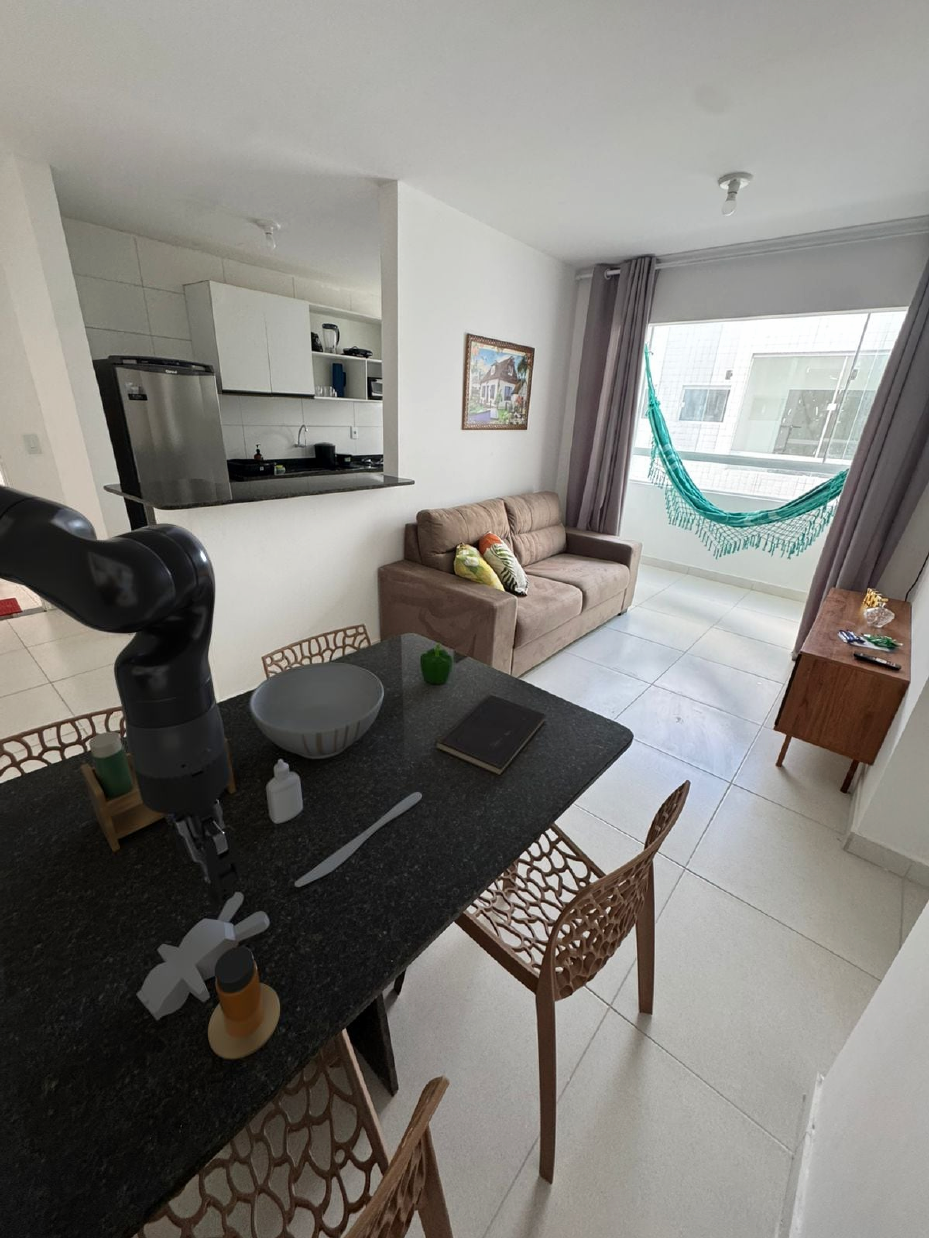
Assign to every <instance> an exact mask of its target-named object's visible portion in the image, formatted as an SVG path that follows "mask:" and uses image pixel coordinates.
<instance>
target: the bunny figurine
mask: <svg viewBox="0 0 929 1238" xmlns="http://www.w3.org/2000/svg"><path fill="white" fill-rule="evenodd" d="M243 901H244V895H243V893H242V892H240V891H235V894H234V896H233V897H232V898H230V899H229V900H227V901H226V902H225V903H224V906H223V908H222V910H221V911H220V914H219V916H218V918H217V919H213V918H212V919H211V918H203V919H201V920H200V921H199V922H198V923H196V924H195V925H194V926H193V927H192V928H191V929H190V930H189V931H188V933H187V934H186V935H185V936H184V937H183V939H182V941H181V942H180V944H179V945H178V947H177V946H174V945H169V944H167V943H166V944H165V943H161V945H160V946H159V947H158V948H157V953H158V954H159V957H161V959H162V960H163V962H162V963H159V964H157V965H156V966H155V967H154V968H152V969H151V970H150V971H149V973H148V975H147V976H146V978H145V979H144V982H143V983H142V985H141V986H142V987H141V989H140V990H139V991H137V992H136V996H137V998H138V999H139V1001H140V1002H141V1003H142V1004H143V1006H144V1007H145V1008H146V1009H147V1010H148V1011H149V1013H150V1014H151V1015H152V1016H153V1017H154V1019H155V1020H156V1021H157V1022H158V1021H159V1020H160V1019H161V1018H162V1017H165V1016H167V1015H171V1014H173V1013H175V1012H176V1011H177V1010H180V1009H181V1008H182V1006H183V1005H184V1004H185V1003H186V1001H187V1000H188V997H189V995H190V993H191V994H192V995H193V996H194V997H196V998H197V999H198V1000H200V1001H201V1002H202V1003H205V1002H206V1001H207V1000H209V999H210V998H211V996H210V993H209V991H208V988H207V986H206V983H205V981H207V980H209V979H211V978H213V977H215V966H216V963H217V961H218V960H219V958H220V957H221V956H222V955H223V954H224V953H225V952H226V951H228V950H230V949H232V948H234V947H238V945H239V942H242V941H243V940H246V939H248V938H251V937H253V936H255V935H258V934H260V933H263V932H264V931H266V930H267V929H268V928H269V926H270V918H269V916H268V915H267V913H266V912H264V911H262V910H258V911H256V912H254V913H252V914H251V915H249V916H248V917H246V918H245V919H243V920H242V921H239V922H238V923H237V924H235V925H234V924H233V923H231V922H230V921H231V920H232V918H233V917H234V915H235V914H236V913H237V911H238V909H239V908H240V906H241V905H242V904H243Z"/></svg>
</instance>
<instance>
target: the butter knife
mask: <svg viewBox="0 0 929 1238" xmlns="http://www.w3.org/2000/svg"><path fill="white" fill-rule="evenodd" d="M422 797H423V794H422V793H421V792H419V791H415V792H412V793H411V794H409V795H408V796H406V797H405V798H403V799H402V800H401V801H399V802H398V803H397V804H396V805H394V806H393V807H392V808H391V809H390V810H389V811H387V813H386V814H384V815H383V816H382V817H381V818H379V819H378V820H377V821H376V822H374V823H373V824H372V825H371V826H370V827H368V828H367V829H365V830H364V831H363V832H362V833H360V834H359V835H358V836H356V837H355V838H353V839H352V840H351V841H349V842H347V844H345V845H344V846H342V847H340V849H338V850H336V851H335V852H334V853H332V854H331V855H329V856H328V857H327V858H325V859H324V860H323V861H322V862H320V863H319V864H318V865H316V866H315V867H314V868H313V869H311V870H309V872H307V873H306V874H304V875H303V876H301V877H300V878H298V879H297V880H295V882H294V886H295V887H296V888H300V887H302V886H305V885H307V884H310V883H312V882H313V881H315V880H318V879H320V878H322V877H324V876H326V875H328V874H329V873H331V872H333V871H334V870H335V869H337V868H338V867H339V866H340V865H341V864H343V863H344V862H345V861H346V860H347V859H349V857H350V856H352V855H353V854H354V853H355V852H356V851H357V850H358V848H360V846H362V845H363V843H364V842H366V840H367V839H369V838H370V837H371V836H373V834H374V833H375V832H376V831H378V830H379V829H381V828H382V827H383V826H384V825H385V824H387V823H388V822H390V821H392V820H393V819H395V818H397V817H399V816H400V815H401V814H403V813H404V812H406V811H408V810H409V809H410V808H412V807H413V806H415V805H416V804H417V803H418V802H419V801H421V800H422Z"/></svg>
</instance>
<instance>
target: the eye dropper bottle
mask: <svg viewBox="0 0 929 1238" xmlns="http://www.w3.org/2000/svg"><path fill="white" fill-rule="evenodd" d="M273 774H274V777H273V778H271V779H270V780H269V782H268V783H266V787H265V791H266V798H267V800H266V801H267V808H268V814H269V819H270V820H271V821H272V823H274V824H275V825H279V824H282V823H285V822H288V821H290V820H292V819H294V818H295V817H297V816H298V815H299V814H301V812H302V811H303V810H304V803H303V795H302V794H303V792H302V787H301V786H302V784H301V778H300V776H299V774H297V773H296V772H295V771H290V766H289V763H287V762H284V760H283V759H282V758H280V759H278V760H277V763H276V764H275V765H274V766H273Z"/></svg>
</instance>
